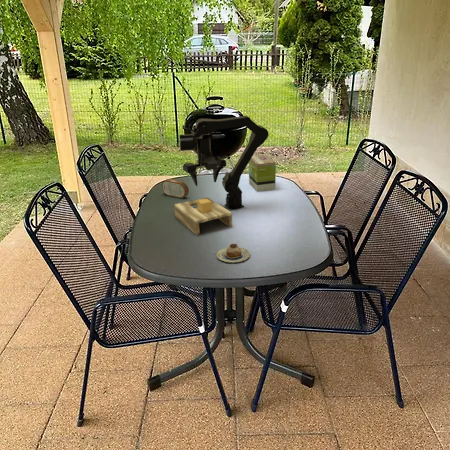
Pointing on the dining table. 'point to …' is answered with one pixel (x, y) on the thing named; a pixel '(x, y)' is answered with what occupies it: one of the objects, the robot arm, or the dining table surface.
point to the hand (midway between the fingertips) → (205, 183)
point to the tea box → (262, 173)
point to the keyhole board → (200, 214)
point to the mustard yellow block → (204, 205)
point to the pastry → (233, 253)
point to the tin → (175, 188)
